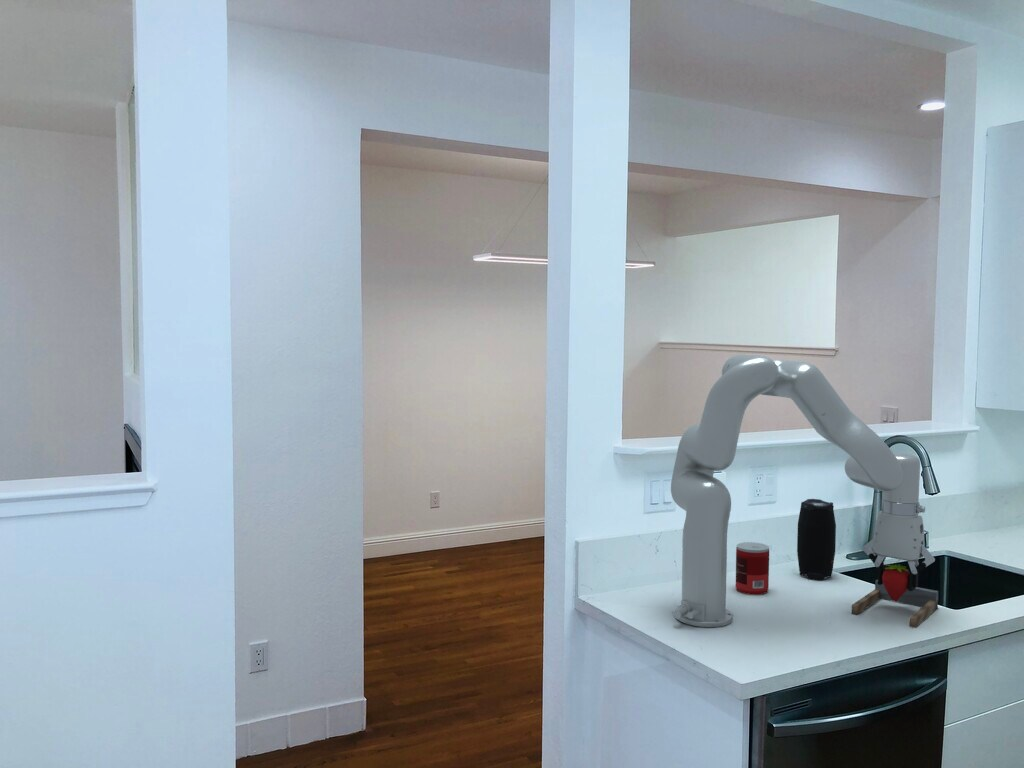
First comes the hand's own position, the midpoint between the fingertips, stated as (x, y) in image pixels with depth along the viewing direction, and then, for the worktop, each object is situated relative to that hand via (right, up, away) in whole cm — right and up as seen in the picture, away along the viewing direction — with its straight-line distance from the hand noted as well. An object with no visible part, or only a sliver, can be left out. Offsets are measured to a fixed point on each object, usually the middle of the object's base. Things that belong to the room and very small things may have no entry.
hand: (896, 585), depth 188 cm
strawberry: (0, -4, 0) cm, 4 cm away
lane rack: (-1, -6, -1) cm, 6 cm away
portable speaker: (-9, -4, +26) cm, 28 cm away
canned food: (-29, -5, +14) cm, 32 cm away
